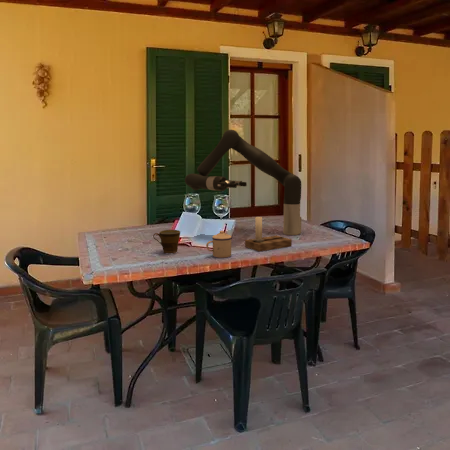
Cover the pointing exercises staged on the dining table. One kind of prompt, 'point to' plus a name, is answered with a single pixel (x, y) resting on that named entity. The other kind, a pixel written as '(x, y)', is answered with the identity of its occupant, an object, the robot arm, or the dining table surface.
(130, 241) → the dining table surface
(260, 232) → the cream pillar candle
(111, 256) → the dining table surface
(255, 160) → the robot arm
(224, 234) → the teacup with lid
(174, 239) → the ceramic cup
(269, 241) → the wooden tray
